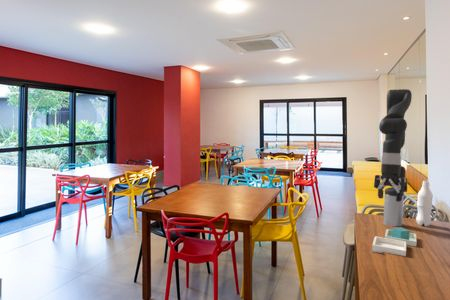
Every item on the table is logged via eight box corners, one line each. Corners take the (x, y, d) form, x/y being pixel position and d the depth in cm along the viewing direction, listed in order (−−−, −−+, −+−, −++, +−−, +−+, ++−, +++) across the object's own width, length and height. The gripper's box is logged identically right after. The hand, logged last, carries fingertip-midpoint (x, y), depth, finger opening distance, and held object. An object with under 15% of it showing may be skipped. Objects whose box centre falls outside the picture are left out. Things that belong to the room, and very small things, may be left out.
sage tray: (386, 234, 153) (386, 229, 153) (415, 239, 147) (415, 233, 146) (384, 242, 142) (384, 236, 142) (416, 248, 136) (416, 241, 136)
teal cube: (391, 238, 146) (392, 228, 146) (400, 237, 148) (401, 227, 147) (400, 241, 141) (400, 231, 141) (409, 241, 143) (409, 230, 142)
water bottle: (425, 223, 174) (427, 180, 172) (434, 227, 167) (436, 182, 165) (413, 223, 174) (415, 180, 172) (421, 227, 167) (424, 182, 165)
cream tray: (374, 242, 142) (375, 236, 142) (405, 248, 136) (406, 241, 136) (372, 251, 132) (372, 244, 131) (405, 258, 125) (406, 251, 125)
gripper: (412, 164, 129) (410, 202, 129) (382, 162, 142) (380, 197, 142) (400, 164, 126) (399, 203, 126) (371, 162, 139) (369, 197, 139)
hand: (389, 199), depth 134 cm, fingers open, 8 cm apart
